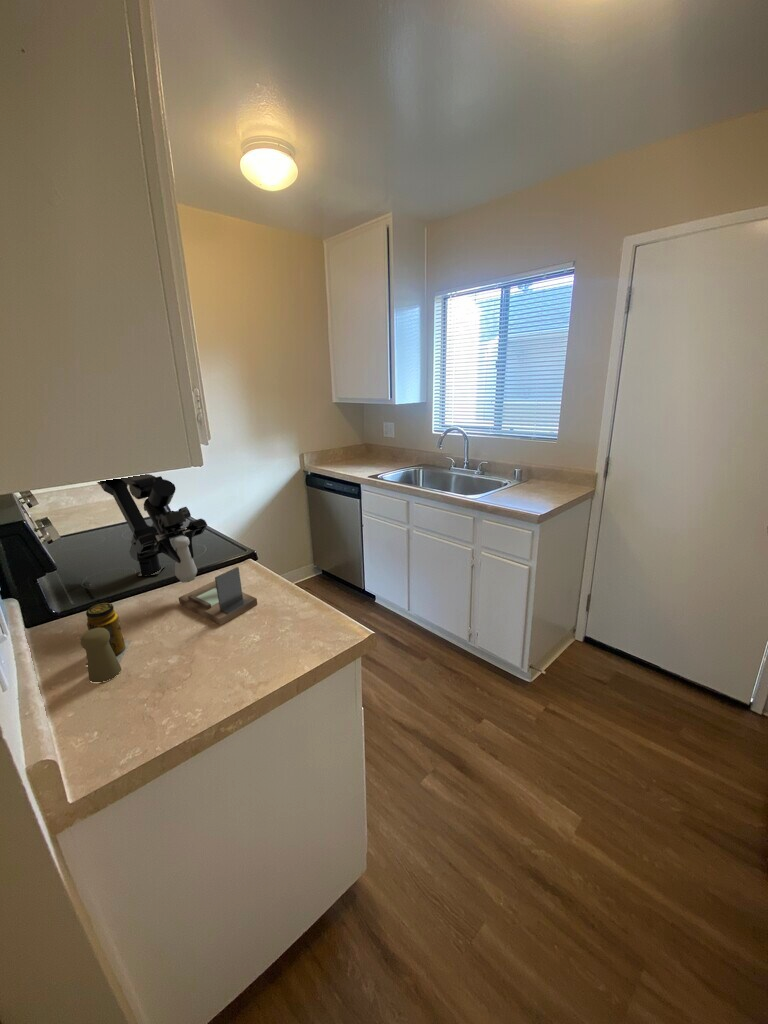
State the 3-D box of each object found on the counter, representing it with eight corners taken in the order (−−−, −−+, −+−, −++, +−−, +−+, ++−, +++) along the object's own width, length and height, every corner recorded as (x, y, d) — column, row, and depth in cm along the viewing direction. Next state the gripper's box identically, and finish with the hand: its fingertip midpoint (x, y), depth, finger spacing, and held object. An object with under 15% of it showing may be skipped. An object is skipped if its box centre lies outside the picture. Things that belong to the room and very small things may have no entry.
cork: (86, 673, 91) (73, 631, 87) (117, 660, 95) (106, 620, 91) (92, 688, 87) (79, 644, 83) (124, 673, 91) (113, 631, 87)
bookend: (220, 610, 110) (214, 577, 107) (241, 598, 116) (237, 567, 113) (228, 614, 109) (222, 580, 105) (249, 602, 114) (245, 570, 111)
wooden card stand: (179, 603, 117) (177, 593, 116) (216, 586, 127) (214, 576, 126) (220, 625, 107) (219, 614, 106) (257, 604, 117) (256, 594, 116)
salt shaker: (195, 583, 117) (187, 541, 112) (173, 584, 116) (165, 542, 112) (200, 573, 122) (194, 533, 118) (180, 574, 121) (172, 534, 117)
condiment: (131, 640, 102) (121, 598, 98) (120, 663, 94) (108, 618, 90) (98, 645, 100) (86, 602, 96) (84, 668, 92) (70, 623, 88)
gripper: (130, 508, 107) (158, 559, 104) (199, 492, 120) (225, 536, 118) (124, 529, 114) (149, 577, 111) (189, 511, 128) (213, 553, 125)
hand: (186, 560), depth 116 cm, fingers closed on salt shaker, 3 cm apart
